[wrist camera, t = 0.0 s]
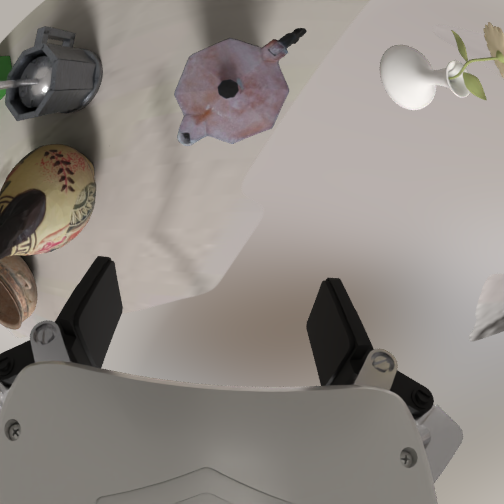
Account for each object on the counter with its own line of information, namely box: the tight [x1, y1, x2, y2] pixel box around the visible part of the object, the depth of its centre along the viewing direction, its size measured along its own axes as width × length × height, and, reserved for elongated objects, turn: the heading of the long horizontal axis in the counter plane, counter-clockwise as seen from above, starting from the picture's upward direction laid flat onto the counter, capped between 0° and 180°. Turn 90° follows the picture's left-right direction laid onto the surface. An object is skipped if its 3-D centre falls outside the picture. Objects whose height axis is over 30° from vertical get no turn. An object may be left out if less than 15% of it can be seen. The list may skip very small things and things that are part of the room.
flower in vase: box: [380, 22, 504, 110], centre depth 20 cm, size 13×11×25 cm
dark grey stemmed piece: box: [0, 56, 53, 107], centre depth 15 cm, size 7×7×14 cm
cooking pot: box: [0, 255, 37, 329], centre depth 41 cm, size 25×19×12 cm
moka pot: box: [174, 28, 306, 146], centre depth 25 cm, size 10×15×20 cm, turn 140°
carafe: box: [5, 26, 103, 121], centre depth 23 cm, size 14×11×12 cm
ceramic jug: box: [0, 144, 96, 260], centre depth 25 cm, size 17×15×30 cm
